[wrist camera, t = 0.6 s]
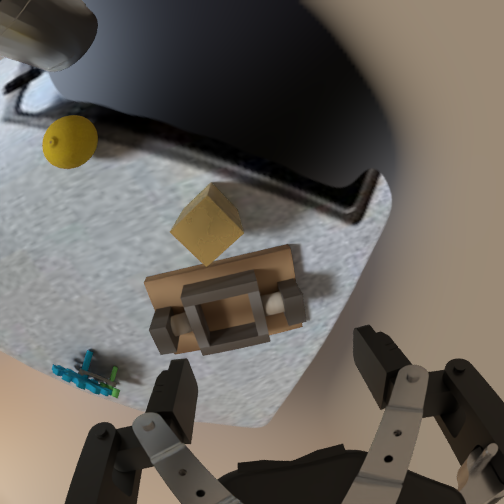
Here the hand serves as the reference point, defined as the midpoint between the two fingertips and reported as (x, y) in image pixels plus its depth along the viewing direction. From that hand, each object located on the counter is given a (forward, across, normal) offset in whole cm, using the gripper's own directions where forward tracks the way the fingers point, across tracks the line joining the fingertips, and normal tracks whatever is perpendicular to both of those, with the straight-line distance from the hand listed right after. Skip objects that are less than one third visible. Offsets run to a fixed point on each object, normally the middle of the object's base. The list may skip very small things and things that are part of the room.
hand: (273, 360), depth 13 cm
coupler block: (+20, +4, -5) cm, 21 cm away
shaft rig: (+21, +4, +6) cm, 23 cm away
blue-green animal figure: (+21, +28, +14) cm, 38 cm away
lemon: (+19, +16, -16) cm, 30 cm away
